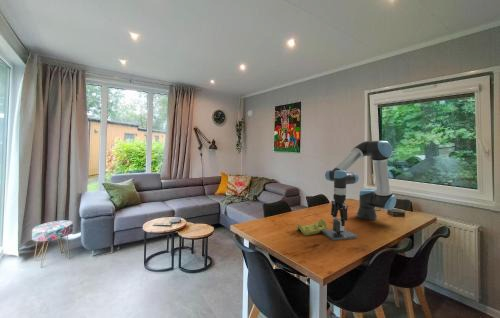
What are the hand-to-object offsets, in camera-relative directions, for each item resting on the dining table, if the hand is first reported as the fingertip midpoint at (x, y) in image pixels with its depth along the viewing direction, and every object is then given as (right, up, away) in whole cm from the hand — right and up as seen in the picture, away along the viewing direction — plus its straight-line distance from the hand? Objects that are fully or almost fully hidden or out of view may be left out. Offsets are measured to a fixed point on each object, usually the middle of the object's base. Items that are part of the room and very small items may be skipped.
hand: (338, 228), depth 150 cm
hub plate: (0, -4, 0) cm, 4 cm away
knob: (0, -1, 0) cm, 1 cm away
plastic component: (-15, -4, +6) cm, 17 cm away
